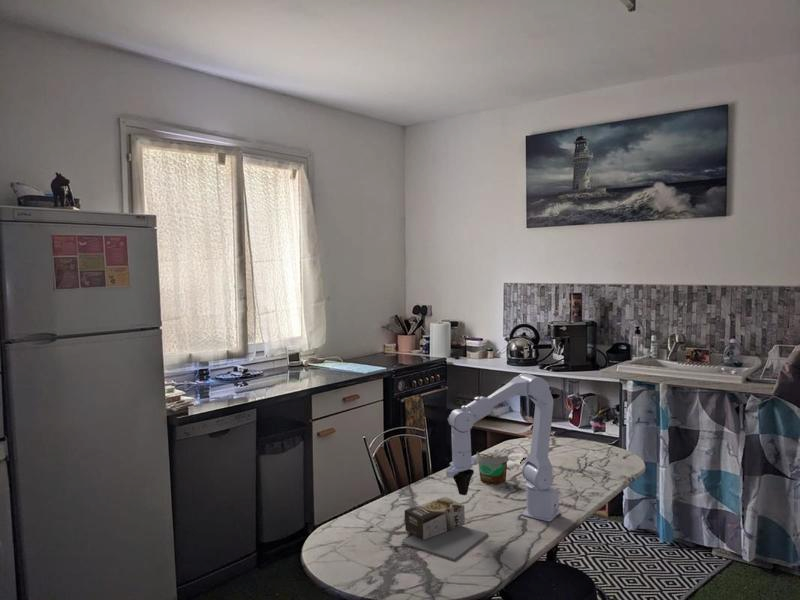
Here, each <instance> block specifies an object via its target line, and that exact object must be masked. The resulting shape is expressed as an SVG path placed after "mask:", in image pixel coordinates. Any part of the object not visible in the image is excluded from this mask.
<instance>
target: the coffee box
mask: <svg viewBox="0 0 800 600" xmlns="http://www.w3.org/2000/svg"><path fill="white" fill-rule="evenodd" d="M465 512H466V511H465V504H462V503H461V502H457V501H456V500H453V499H451V498H449V497H447V496H443V497H440V498H436V499H433V500H432V501H428V502H425V503H421V504H419V505H417V506H416V505H415V506H413V507H410V508H408V509H407V508H406V509H404V523H405V524H404V525H405V529H404V530H405V531H406V532H408V533H410V534H411V535H415V536H417V537H419V538H420V539H422V540H425V539H428V538H430V537H433V536H436V535H438V534H441V533H444V532H447V531H449V530H452V529H455V528H457V527H460V526H463V527H464V526H465V525H466V524H465V523H466V522H465V520H466V519H465V516H466V515H465Z"/></svg>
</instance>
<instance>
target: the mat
mask: <svg viewBox="0 0 800 600" xmlns="http://www.w3.org/2000/svg"><path fill="white" fill-rule="evenodd" d="M488 536H489V533H488V532H484V531H480V530H477V529H472V528H469V527H466V526H464V525H463V526H460V527H457V528H455V529H452V530H449V531H447V532H444V533H441V534H438V535H436V536H433V537H430V538H428V539H425V540H422V539H420V538H419V537H417V536H415V535H413V534H411V535H410V536H408V537H407V538H405V539H404V540H402V541H401V543H403V544H406V545H409V546H411V547H410V548H412V547H414V548H413V549H415V548H417V549H416V550H418V549H420V550H419V551H421V550H422V551H421V552H425V551H426V552H425V553H428V554H431V555H435V556H438V557H439V558H440V557H441V558H444V559H447V560H450V561H453V562H456V561H457V560H458V559H459V558H460V557H462V556H463V555H465V554H466V553H467V552H469V551H470V550H471V549H472V548H474V547H475V546H476V545H478V544H479V543H480V542H482V541H483V540H484V539H486V538H487V537H488ZM401 543H400V544H401ZM403 544H402V545H403ZM406 545H405V546H406ZM409 546H408V547H409Z"/></svg>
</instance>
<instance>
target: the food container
mask: <svg viewBox="0 0 800 600" xmlns="http://www.w3.org/2000/svg"><path fill="white" fill-rule="evenodd" d="M508 456H509V455H508V454H506V455H504V456H501V455H497V454H491V453H489V454H485V453H479V451H477V452H476V455H475V458H477V465H478V471H479V478H480V482H481V481H482V482H481V483H483V484H485V483H486V485H491V484H493V486H494V485H496V486H497V485H501V484H504V483H506V482H507V470H508V469H507V468H508V467H507V461H509V458H508Z"/></svg>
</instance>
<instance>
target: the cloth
mask: <svg viewBox="0 0 800 600" xmlns="http://www.w3.org/2000/svg"><path fill="white" fill-rule="evenodd" d="M525 453H526V452H519V453H513V454H509V455H508V458H513V459H517V460H516V461H515V462H512V461H510V460H509V461H507V468H508V469H509V470H510V471H511V469H512V470H513V469H515V468H517V467H519V466H520V465H521V464H520V462H521V463H522V460H524V459H526V457H527V456H528V455H527V454H525ZM523 458H524V459H523ZM519 464H520V465H519ZM518 465H519V466H518ZM516 466H517V467H516ZM514 467H515V468H514Z"/></svg>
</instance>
